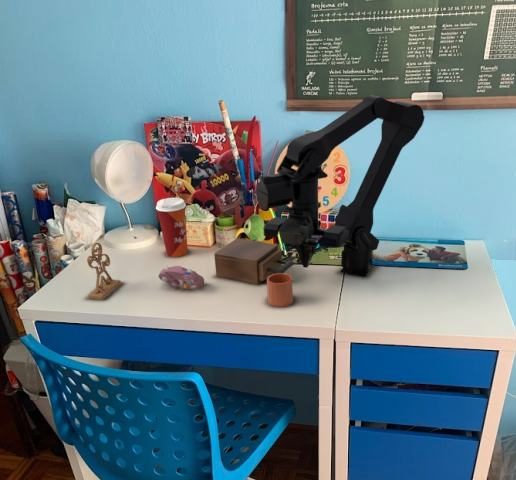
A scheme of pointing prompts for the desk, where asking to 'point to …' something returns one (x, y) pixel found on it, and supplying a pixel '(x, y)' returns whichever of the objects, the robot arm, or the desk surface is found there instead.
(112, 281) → the wooden figurine
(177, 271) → the purple toy car
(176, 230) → the paper cup
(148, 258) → the desk surface
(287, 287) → the cup
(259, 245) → the cabinet
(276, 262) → the drawer
